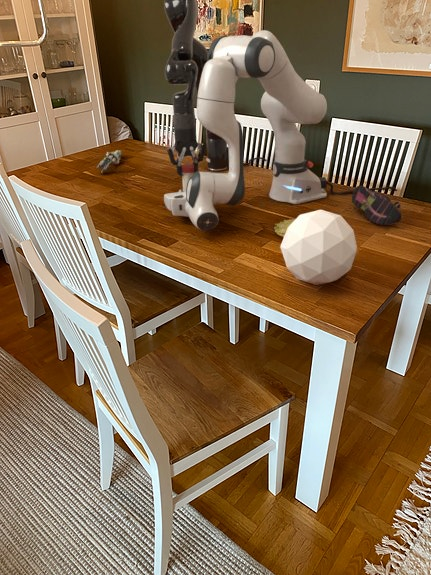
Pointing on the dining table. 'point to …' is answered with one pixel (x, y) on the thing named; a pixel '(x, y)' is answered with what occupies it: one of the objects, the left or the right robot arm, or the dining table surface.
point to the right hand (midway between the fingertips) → (188, 190)
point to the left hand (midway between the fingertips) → (187, 174)
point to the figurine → (110, 160)
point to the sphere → (319, 247)
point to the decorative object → (283, 227)
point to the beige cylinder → (186, 179)
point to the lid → (188, 168)
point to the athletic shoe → (376, 206)
